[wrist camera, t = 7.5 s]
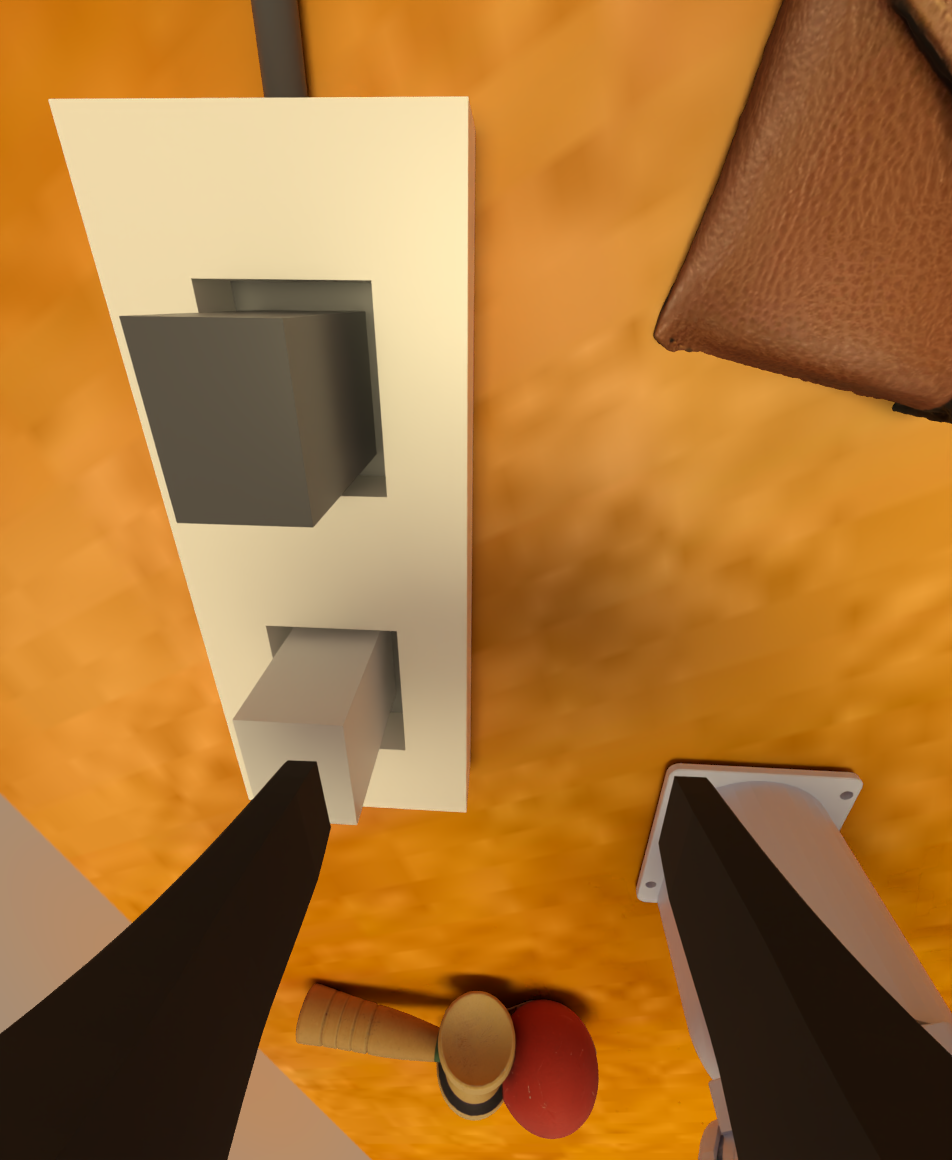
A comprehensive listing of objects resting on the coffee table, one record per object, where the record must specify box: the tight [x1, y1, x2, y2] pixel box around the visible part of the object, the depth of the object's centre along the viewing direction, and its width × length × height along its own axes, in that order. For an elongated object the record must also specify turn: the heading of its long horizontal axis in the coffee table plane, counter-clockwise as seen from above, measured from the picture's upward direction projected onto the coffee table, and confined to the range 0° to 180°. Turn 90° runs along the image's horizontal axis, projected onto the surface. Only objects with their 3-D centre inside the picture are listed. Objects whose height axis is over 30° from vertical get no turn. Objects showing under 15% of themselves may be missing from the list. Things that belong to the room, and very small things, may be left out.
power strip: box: [48, 0, 475, 812], centre depth 13 cm, size 32×9×6 cm, turn 179°
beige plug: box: [232, 627, 396, 825], centre depth 17 cm, size 4×3×6 cm
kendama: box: [296, 983, 598, 1139], centre depth 32 cm, size 8×6×18 cm
